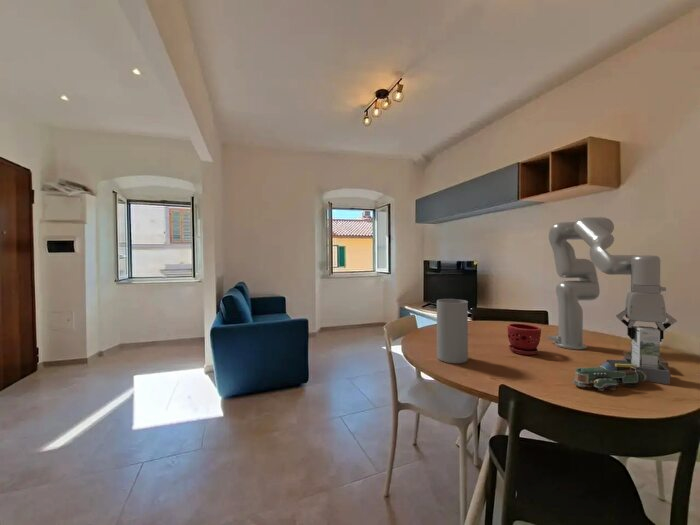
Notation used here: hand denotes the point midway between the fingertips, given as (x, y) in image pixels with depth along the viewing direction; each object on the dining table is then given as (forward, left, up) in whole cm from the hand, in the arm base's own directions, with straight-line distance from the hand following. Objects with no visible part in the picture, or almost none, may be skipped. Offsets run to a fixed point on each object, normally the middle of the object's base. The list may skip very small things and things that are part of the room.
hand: (644, 339), depth 109 cm
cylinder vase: (-64, -15, -14) cm, 67 cm away
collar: (+3, +13, -14) cm, 19 cm away
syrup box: (0, 0, -10) cm, 10 cm away
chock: (-8, -7, -14) cm, 17 cm away
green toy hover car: (-12, -16, -14) cm, 24 cm away
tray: (0, 0, -14) cm, 14 cm away
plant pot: (-38, +11, -14) cm, 42 cm away
